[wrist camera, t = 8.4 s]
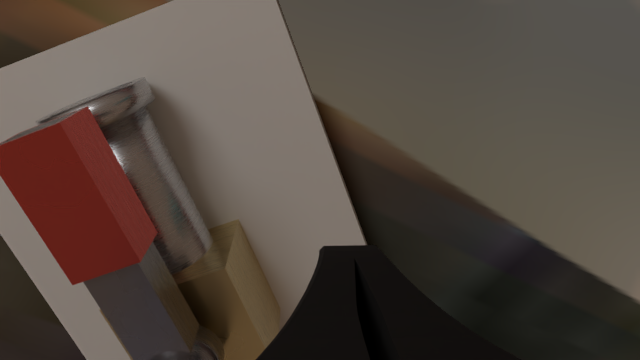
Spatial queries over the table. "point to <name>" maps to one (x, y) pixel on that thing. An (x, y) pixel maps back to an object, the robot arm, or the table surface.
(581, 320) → the table surface
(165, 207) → the valve body
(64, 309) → the mounting board
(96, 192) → the valve lever
